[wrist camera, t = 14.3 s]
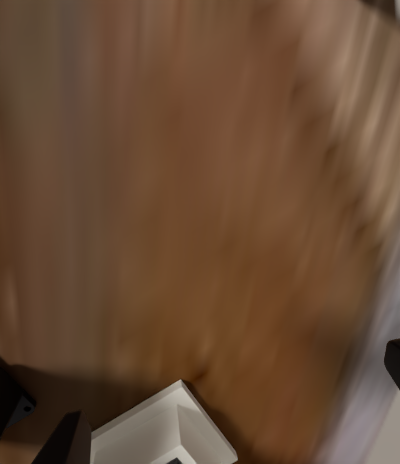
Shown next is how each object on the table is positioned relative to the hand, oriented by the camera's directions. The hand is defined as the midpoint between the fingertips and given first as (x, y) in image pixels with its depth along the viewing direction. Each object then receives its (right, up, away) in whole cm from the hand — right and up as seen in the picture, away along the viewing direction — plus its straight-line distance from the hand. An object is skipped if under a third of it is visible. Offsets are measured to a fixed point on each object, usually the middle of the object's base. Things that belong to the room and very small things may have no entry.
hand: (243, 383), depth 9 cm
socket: (-5, -14, +18) cm, 23 cm away
